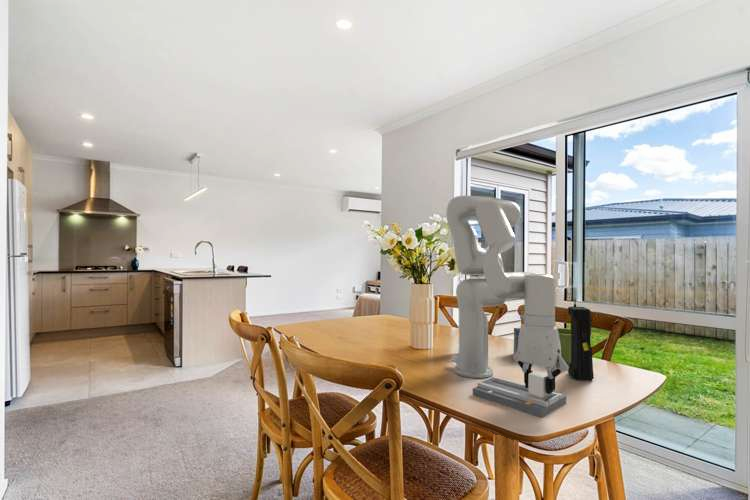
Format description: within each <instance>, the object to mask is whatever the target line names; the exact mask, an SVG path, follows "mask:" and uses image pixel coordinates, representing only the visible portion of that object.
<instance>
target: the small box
mask: <svg viewBox="0 0 750 500" xmlns="http://www.w3.org/2000/svg"><path fill="white" fill-rule="evenodd" d="M520 328H521V327H514V328H513V355H514V354H515V353H516V352H517V350H518V339H519V332H520Z"/></svg>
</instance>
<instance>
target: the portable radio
mask: <svg viewBox="0 0 750 500" xmlns="http://www.w3.org/2000/svg"><path fill="white" fill-rule="evenodd" d="M573 300H574V304H573V306H568V307H567V315H568V316H570V329H571V363H567V365H568V366H569V369H567V374H568V375H569V377H571V378H572V379H573V380H577V381H587V380H589V381H590V382H591V381H593V380H594V378H595V377H594V376H595V375H594V366H593V365H594V364H593V363H594V362H593V347H592V346H591V335H592V310H590V308H587V307H585V306H577V304H576V300H577V299H576V298H574V299H573Z"/></svg>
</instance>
